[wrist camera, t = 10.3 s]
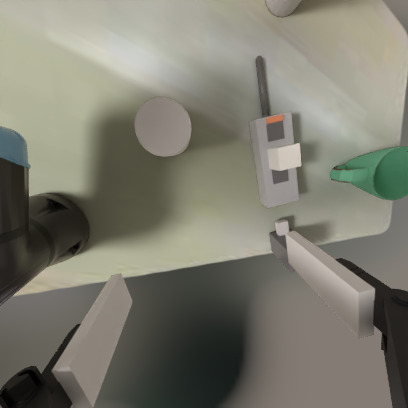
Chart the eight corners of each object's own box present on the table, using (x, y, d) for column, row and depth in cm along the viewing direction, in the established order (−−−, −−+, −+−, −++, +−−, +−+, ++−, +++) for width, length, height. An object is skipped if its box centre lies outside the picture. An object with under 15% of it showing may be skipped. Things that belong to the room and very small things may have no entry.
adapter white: (269, 169, 38) (280, 171, 34) (267, 148, 37) (277, 148, 33) (288, 164, 38) (301, 165, 34) (286, 144, 37) (299, 143, 33)
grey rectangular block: (271, 251, 48) (290, 272, 39) (267, 220, 46) (286, 236, 37) (290, 246, 48) (313, 266, 39) (287, 216, 46) (310, 230, 37)
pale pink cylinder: (195, 122, 39) (198, 109, 27) (183, 161, 41) (181, 164, 29) (156, 107, 37) (143, 86, 26) (145, 147, 39) (128, 145, 28)
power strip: (260, 203, 44) (268, 209, 40) (239, 61, 37) (247, 48, 32) (289, 196, 45) (300, 201, 40) (274, 53, 37) (286, 40, 32)
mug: (375, 146, 43) (430, 144, 34) (368, 189, 46) (416, 198, 36) (314, 150, 42) (351, 149, 33) (310, 193, 45) (344, 204, 35)
